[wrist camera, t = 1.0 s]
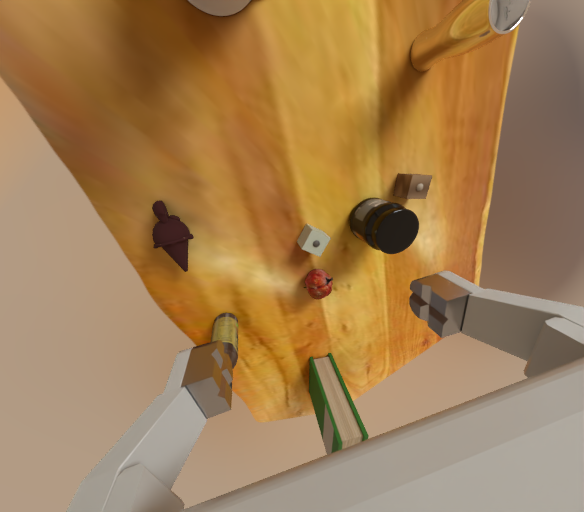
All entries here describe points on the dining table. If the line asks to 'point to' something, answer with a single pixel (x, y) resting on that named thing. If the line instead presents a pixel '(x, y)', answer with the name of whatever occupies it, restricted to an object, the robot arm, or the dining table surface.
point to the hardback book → (334, 406)
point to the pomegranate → (318, 284)
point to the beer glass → (467, 30)
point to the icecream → (171, 235)
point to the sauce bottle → (227, 335)
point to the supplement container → (384, 225)
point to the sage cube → (313, 240)
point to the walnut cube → (412, 186)
